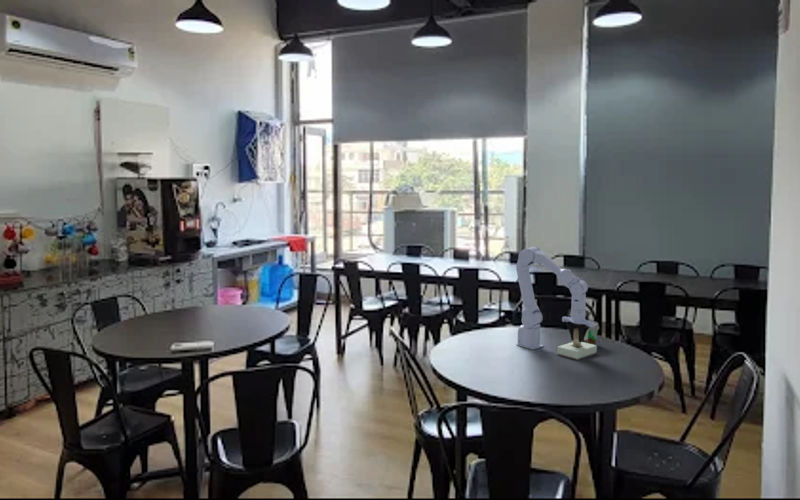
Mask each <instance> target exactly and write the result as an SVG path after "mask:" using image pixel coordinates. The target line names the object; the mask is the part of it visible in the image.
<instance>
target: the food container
mask: <svg viewBox="0 0 800 500" xmlns="http://www.w3.org/2000/svg"><path fill="white" fill-rule="evenodd" d="M587 320H588V321H591V322H594V327H592V328H591V327H589V329H588V330H587V332H586V334H585V337H584V341H583V342H584V343H589V344H593V345H597V338H598V331H599V329H600V325H599V322H597V321H593V320H589V319H587Z"/></svg>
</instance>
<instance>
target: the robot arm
mask: <svg viewBox="0 0 800 500" xmlns="http://www.w3.org/2000/svg"><path fill="white" fill-rule="evenodd" d="M534 264H542V265H543V266H544V267H546V268H547V269H548V270H550V271H551V272H552V273H554V275H556V279H557V280H558V281H559V282H561V284H562V285H564V286H565V287H566V288H567V289H569V291H570V294H571V307H570V308H571V309H570V310H571V311H570V316H566V315H565V316H562V318H561V321H562V322H564V323H565V322H566V325H565V326H566V327H567V329H568V331H569V334H570V339H571V341H573V334H574V329H575V328H578V331H579V342H583V341H584V337H585V334H586V332H587V330H588V329H589V327H591V328H592V327H594V322H595V321H594V322H591V321H592V320H590V321H588V320H589V319H586V307H587V306H586V302H587V301H586V298H587V295H586V294H587V293H586V292H588V289H589V286H588V283H587V282H586V281H585V280H584V279H580V277H577V276H576V275H574V273H572V270H571V269H567V268H561V266H560V265H558V264H557V263H556V262H555V261H554V260H553V259H552V258H551V257H550V256H548V255H547V254H546V252H545V251H544V250H542V249H541V248H540V247H538V246H535V245H534V246H530V247H527V248H523V249H522V250H521V251H520V252H519V253H518V258H517V263H516V265H515V267H516V274H517V279H518V284H519V289H520V295H521V300H522V305H523V307H522V310H521V323H522V324H521V325H520V326H519V327H518V329H517V343H516V344H515V345H516V346H519V347H521V348H522V347H523V348H525V349H526V348H527V349H528V350H537V349H540V348H543V347H545V345H544V344H541V323H542V321H543V320H544V319H543V318H544V317H543V314H542V312H541V310H540V307H539V306H538V304H537V303H536V297H535V293H534V288H533V283H532V282H533V281H532V279H531V278H532V276H531V272H530V268H531V267H532V266H533V265H534Z"/></svg>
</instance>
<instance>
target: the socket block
mask: <svg viewBox="0 0 800 500" xmlns="http://www.w3.org/2000/svg"><path fill="white" fill-rule="evenodd" d="M556 348H557V350H556V351H557V352H556V353H557V354H556V355H557V356H561V357H564V358H567V359H568V358H569V359H572V360H576V361H578V360H582V359H585V358H588V357H590V356H593V355H596V354H597V351H598V350H597V349H598V346H597V344H596V345H593V344H589V343H584V342H581V347H580V348H576V347H573V341H571V342H568V343H565V344H562V345H559V346H556Z"/></svg>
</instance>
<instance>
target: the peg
mask: <svg viewBox="0 0 800 500" xmlns="http://www.w3.org/2000/svg"><path fill="white" fill-rule="evenodd" d="M572 342H573V347H576V348H580V347H581V342H579V331H578V327H577V328H575V329H574V334H573V340H572Z"/></svg>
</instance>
